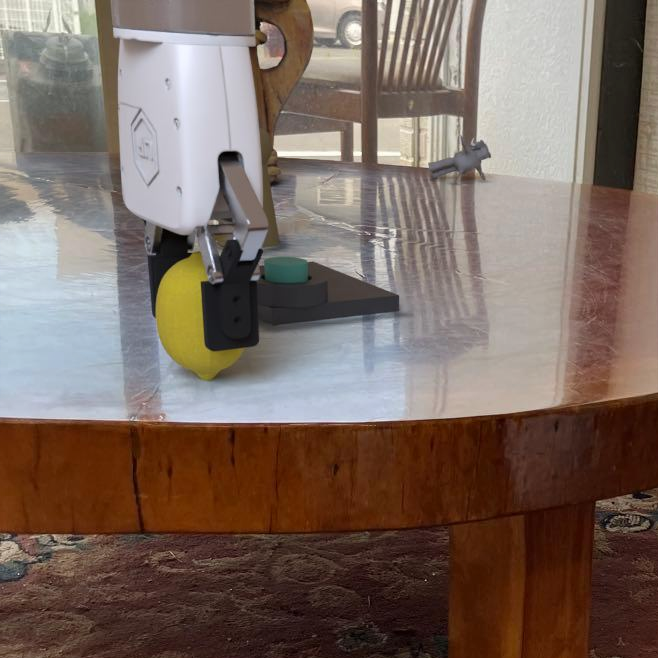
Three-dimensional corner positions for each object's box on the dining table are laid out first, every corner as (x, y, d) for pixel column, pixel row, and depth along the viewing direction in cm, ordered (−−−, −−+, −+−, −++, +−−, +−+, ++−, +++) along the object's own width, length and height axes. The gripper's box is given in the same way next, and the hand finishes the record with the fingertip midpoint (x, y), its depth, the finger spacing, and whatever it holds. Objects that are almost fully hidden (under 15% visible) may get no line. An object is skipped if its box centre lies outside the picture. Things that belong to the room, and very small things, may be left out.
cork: (204, 244, 108) (197, 124, 104) (238, 235, 114) (233, 120, 109) (259, 251, 107) (254, 130, 102) (291, 242, 112) (288, 126, 107)
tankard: (140, 168, 153) (123, -36, 142) (315, 175, 158) (311, -22, 147) (123, 187, 137) (103, -41, 126) (318, 194, 142) (314, -25, 131)
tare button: (277, 287, 82) (276, 266, 82) (257, 278, 84) (256, 258, 84) (315, 284, 84) (315, 263, 84) (295, 275, 86) (295, 255, 86)
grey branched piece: (441, 175, 168) (497, 157, 166) (445, 208, 166) (502, 190, 164) (415, 133, 159) (474, 114, 157) (419, 168, 157) (479, 149, 155)
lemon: (144, 388, 68) (132, 254, 64) (186, 364, 73) (177, 239, 69) (230, 398, 67) (222, 264, 64) (266, 373, 72) (261, 247, 68)
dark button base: (269, 329, 82) (267, 288, 80) (188, 288, 92) (185, 251, 90) (403, 314, 88) (403, 276, 87) (313, 277, 98) (313, 242, 97)
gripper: (61, 4, 65) (93, 307, 72) (182, 15, 53) (205, 377, 60) (185, 11, 69) (203, 296, 77) (323, 24, 57) (328, 360, 65)
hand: (204, 330), depth 68 cm, fingers open, 7 cm apart
